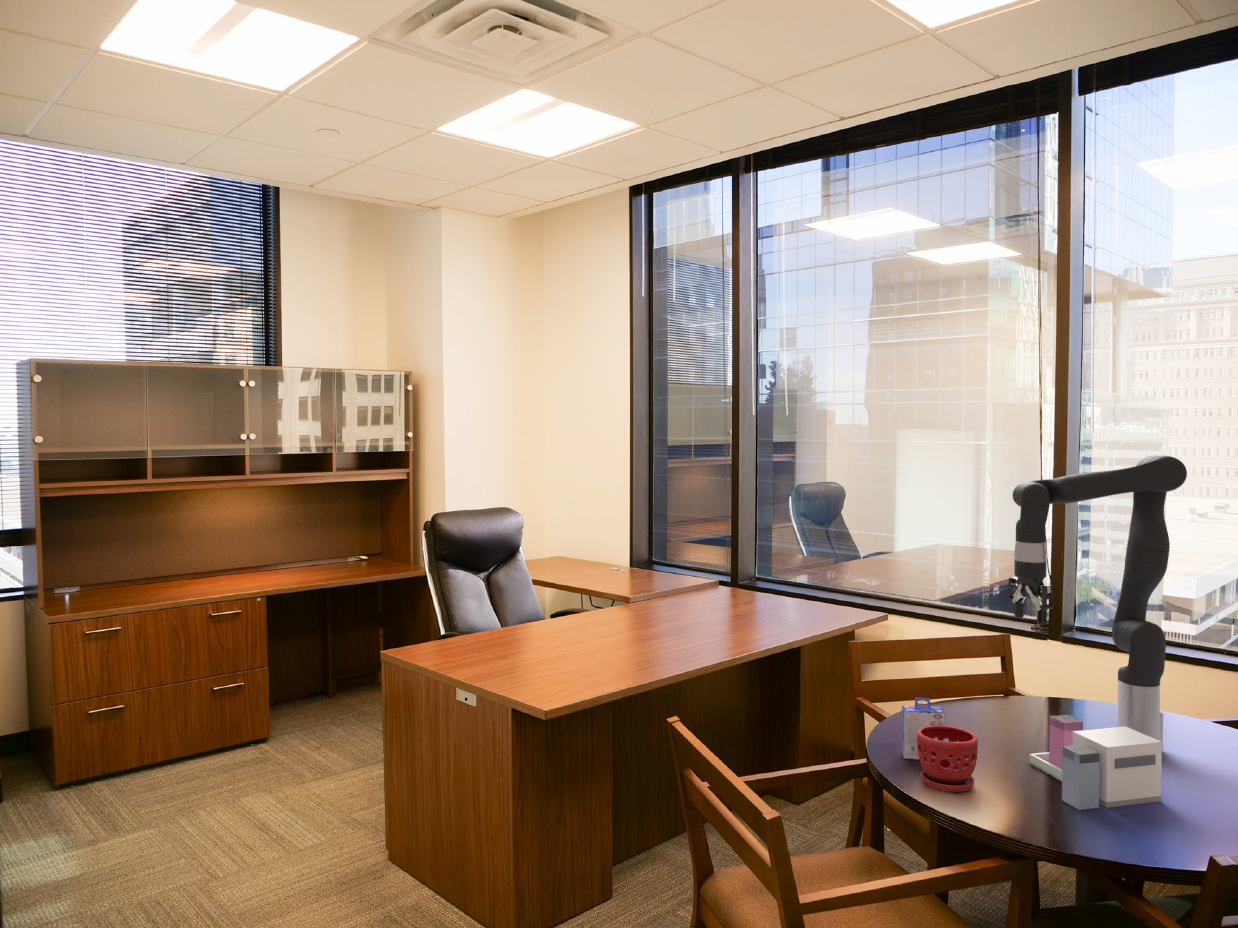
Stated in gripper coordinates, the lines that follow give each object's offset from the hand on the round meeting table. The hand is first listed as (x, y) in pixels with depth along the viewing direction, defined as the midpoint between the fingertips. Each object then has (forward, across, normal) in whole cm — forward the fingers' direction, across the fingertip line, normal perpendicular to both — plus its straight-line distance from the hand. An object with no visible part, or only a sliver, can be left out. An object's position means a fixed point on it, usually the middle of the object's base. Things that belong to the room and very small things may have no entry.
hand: (1029, 620), depth 218 cm
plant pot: (+32, -18, +36) cm, 52 cm away
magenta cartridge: (+32, -18, +4) cm, 36 cm away
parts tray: (+32, -18, +4) cm, 37 cm away
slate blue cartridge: (+32, -34, +14) cm, 49 cm away
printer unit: (+32, -32, +3) cm, 45 cm away
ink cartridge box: (+32, -2, +32) cm, 46 cm away
